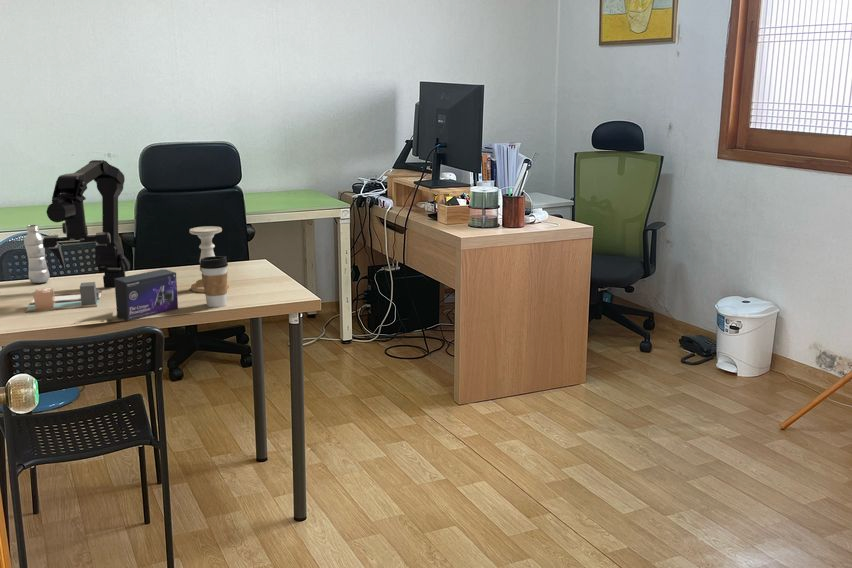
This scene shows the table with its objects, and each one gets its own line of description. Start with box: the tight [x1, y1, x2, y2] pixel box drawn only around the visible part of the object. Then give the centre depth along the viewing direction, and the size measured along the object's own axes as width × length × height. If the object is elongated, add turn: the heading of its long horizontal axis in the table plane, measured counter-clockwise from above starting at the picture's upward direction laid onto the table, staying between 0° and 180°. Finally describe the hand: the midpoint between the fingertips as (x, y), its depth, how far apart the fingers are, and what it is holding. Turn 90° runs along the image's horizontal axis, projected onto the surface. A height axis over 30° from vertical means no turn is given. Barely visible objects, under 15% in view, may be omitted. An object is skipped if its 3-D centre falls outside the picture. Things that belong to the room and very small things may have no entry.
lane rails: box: [24, 289, 102, 314], centre depth 258 cm, size 20×19×2 cm
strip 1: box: [26, 281, 100, 310], centre depth 253 cm, size 20×7×7 cm, turn 107°
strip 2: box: [30, 288, 102, 303], centre depth 262 cm, size 20×7×2 cm, turn 107°
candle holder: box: [189, 225, 230, 294], centre depth 274 cm, size 12×12×20 cm
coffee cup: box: [199, 255, 229, 308], centre depth 255 cm, size 8×8×15 cm
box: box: [114, 268, 179, 322], centre depth 247 cm, size 17×7×12 cm, turn 139°
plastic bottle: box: [23, 224, 50, 284], centre depth 285 cm, size 6×7×20 cm
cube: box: [32, 287, 56, 309], centre depth 252 cm, size 5×5×5 cm
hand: (80, 267), depth 254 cm, fingers open, 9 cm apart
